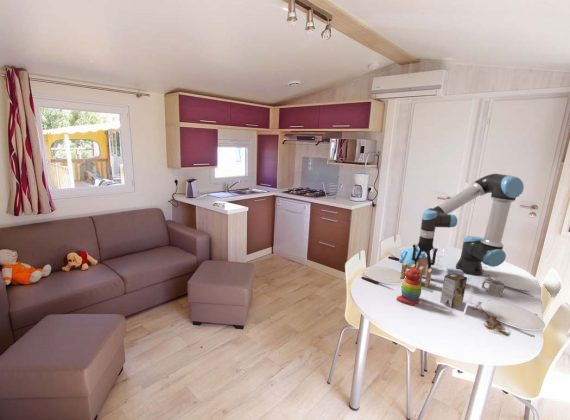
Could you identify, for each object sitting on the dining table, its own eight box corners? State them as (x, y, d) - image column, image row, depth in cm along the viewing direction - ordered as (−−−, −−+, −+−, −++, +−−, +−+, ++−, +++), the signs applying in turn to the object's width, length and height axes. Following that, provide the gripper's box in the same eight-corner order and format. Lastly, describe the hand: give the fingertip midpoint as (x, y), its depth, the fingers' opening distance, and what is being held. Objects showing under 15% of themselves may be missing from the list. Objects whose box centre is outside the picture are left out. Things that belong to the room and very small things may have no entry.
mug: (503, 293, 168) (505, 283, 167) (501, 297, 164) (503, 286, 162) (482, 287, 175) (484, 277, 174) (479, 291, 170) (482, 280, 169)
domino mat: (436, 286, 173) (436, 284, 173) (431, 294, 164) (432, 292, 164) (391, 273, 188) (391, 271, 188) (384, 279, 179) (385, 278, 179)
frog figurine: (476, 317, 144) (477, 310, 143) (506, 324, 139) (507, 317, 139) (481, 331, 134) (482, 323, 133) (513, 339, 129) (515, 331, 128)
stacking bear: (403, 293, 163) (408, 263, 159) (422, 301, 156) (428, 269, 152) (394, 300, 156) (399, 268, 152) (414, 308, 149) (419, 275, 145)
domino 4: (421, 282, 175) (423, 266, 172) (418, 285, 171) (421, 269, 169) (418, 281, 176) (420, 266, 173) (416, 284, 172) (418, 268, 169)
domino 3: (417, 272, 184) (419, 257, 181) (425, 275, 181) (428, 259, 178) (416, 273, 182) (418, 258, 180) (425, 276, 179) (427, 260, 177)
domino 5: (429, 285, 172) (432, 269, 170) (427, 288, 168) (430, 271, 166) (426, 284, 173) (429, 268, 171) (424, 287, 169) (427, 271, 167)
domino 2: (412, 280, 177) (415, 264, 175) (410, 283, 173) (413, 267, 171) (410, 279, 178) (412, 263, 176) (407, 282, 174) (410, 266, 172)
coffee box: (450, 300, 158) (455, 272, 155) (462, 306, 153) (468, 277, 149) (439, 303, 154) (444, 275, 150) (450, 310, 149) (456, 280, 145)
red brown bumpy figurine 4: (405, 278, 180) (407, 262, 178) (402, 280, 176) (405, 265, 174) (402, 277, 181) (404, 261, 179) (399, 280, 177) (402, 264, 175)
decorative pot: (431, 269, 198) (434, 249, 195) (418, 274, 188) (421, 254, 185) (408, 260, 210) (411, 242, 207) (395, 265, 201) (398, 246, 198)
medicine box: (458, 282, 180) (460, 269, 178) (461, 286, 175) (464, 272, 173) (444, 281, 180) (446, 268, 178) (447, 284, 176) (450, 271, 174)
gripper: (409, 234, 178) (404, 271, 184) (442, 241, 168) (436, 279, 173) (412, 232, 184) (407, 267, 190) (444, 238, 174) (438, 275, 179)
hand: (421, 273), depth 181 cm, fingers closed on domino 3, 5 cm apart
